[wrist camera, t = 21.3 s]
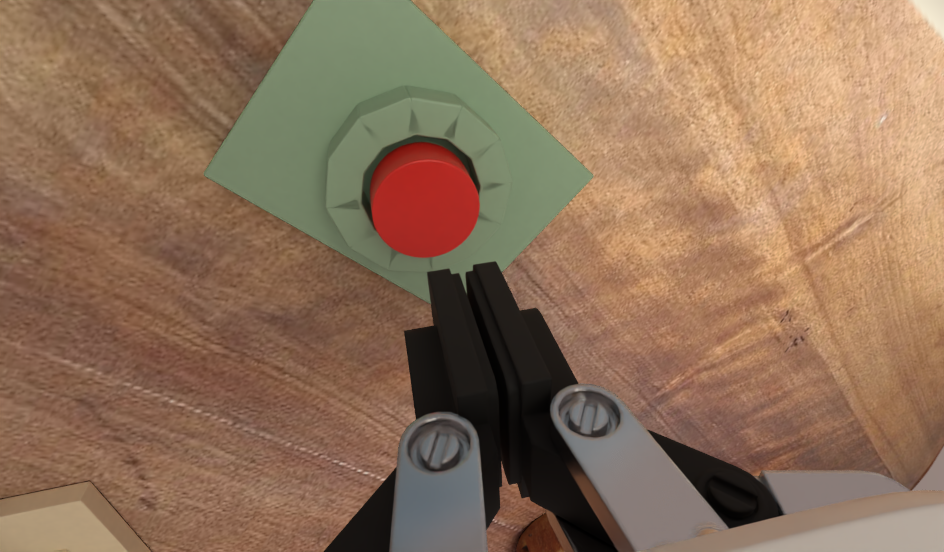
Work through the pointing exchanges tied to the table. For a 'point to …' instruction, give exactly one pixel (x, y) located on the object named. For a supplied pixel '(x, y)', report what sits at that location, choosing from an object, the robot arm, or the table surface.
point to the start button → (423, 200)
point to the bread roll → (539, 537)
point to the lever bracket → (65, 523)
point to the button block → (390, 138)
